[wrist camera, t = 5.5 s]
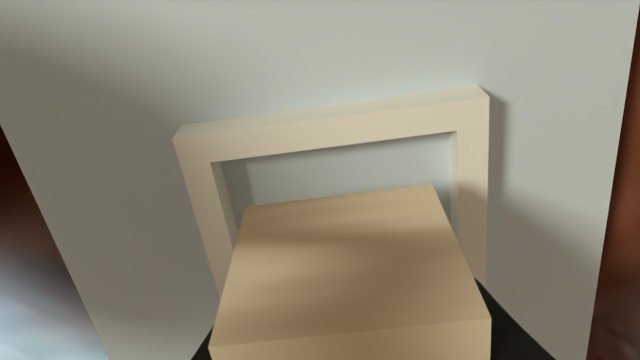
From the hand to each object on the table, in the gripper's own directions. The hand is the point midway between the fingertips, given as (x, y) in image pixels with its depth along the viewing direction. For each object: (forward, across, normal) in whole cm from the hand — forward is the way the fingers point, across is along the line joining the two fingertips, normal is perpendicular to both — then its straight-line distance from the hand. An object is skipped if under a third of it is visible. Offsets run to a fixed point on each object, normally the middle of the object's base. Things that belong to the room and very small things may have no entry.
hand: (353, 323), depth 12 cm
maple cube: (+2, 0, 0) cm, 2 cm away
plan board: (+5, 0, -1) cm, 5 cm away
